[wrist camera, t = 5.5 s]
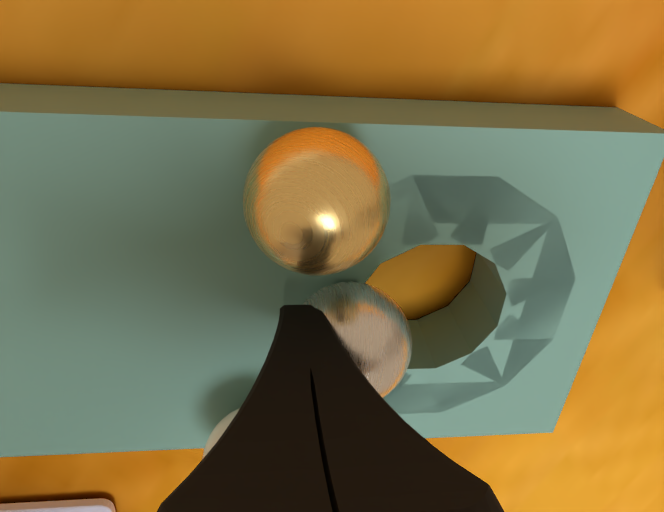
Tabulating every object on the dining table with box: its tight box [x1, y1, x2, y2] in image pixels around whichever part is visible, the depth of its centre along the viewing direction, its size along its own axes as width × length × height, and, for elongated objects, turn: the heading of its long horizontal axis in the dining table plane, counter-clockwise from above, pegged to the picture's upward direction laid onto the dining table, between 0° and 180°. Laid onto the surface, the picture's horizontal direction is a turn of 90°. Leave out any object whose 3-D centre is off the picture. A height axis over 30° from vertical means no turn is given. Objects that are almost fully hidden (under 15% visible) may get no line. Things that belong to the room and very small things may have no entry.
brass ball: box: [243, 127, 391, 276], centre depth 11 cm, size 3×3×3 cm
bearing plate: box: [0, 83, 664, 457], centre depth 16 cm, size 19×11×2 cm, turn 86°
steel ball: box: [303, 282, 412, 398], centre depth 14 cm, size 3×3×3 cm
